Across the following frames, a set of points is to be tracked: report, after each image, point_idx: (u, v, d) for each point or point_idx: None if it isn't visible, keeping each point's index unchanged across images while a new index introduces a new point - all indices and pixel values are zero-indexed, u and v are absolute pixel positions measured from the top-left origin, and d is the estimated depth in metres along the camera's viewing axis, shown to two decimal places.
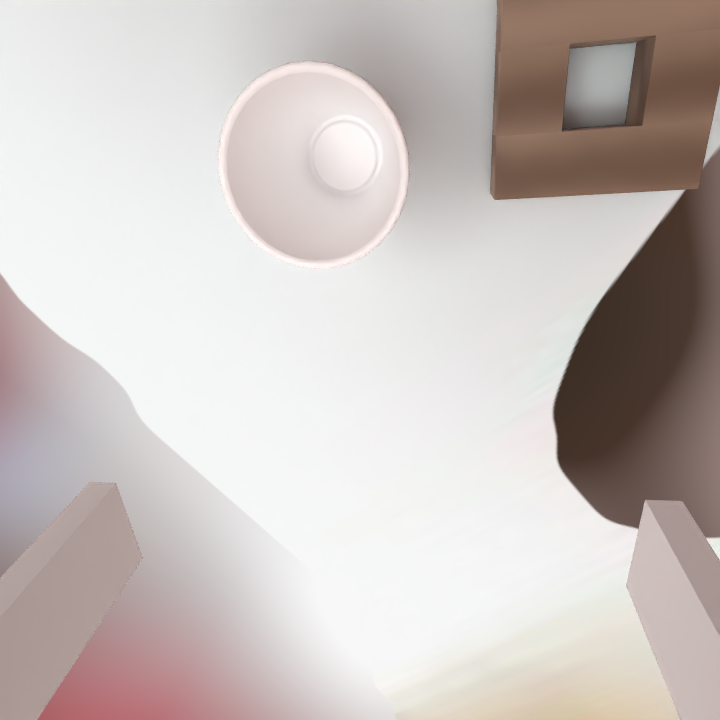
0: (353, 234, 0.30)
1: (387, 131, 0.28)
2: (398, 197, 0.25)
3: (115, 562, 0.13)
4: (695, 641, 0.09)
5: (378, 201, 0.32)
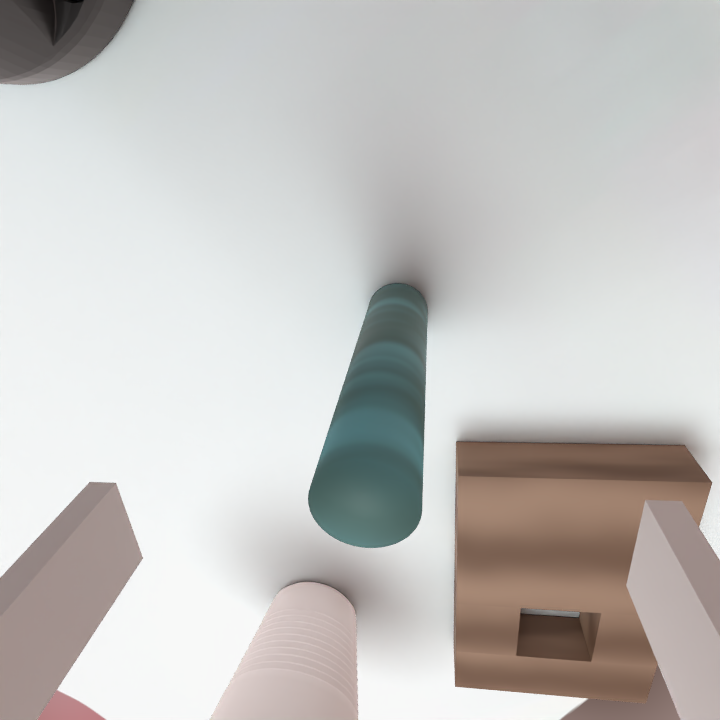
0: None
1: (348, 689, 0.30)
2: None
3: (115, 562, 0.13)
4: (695, 641, 0.09)
5: None
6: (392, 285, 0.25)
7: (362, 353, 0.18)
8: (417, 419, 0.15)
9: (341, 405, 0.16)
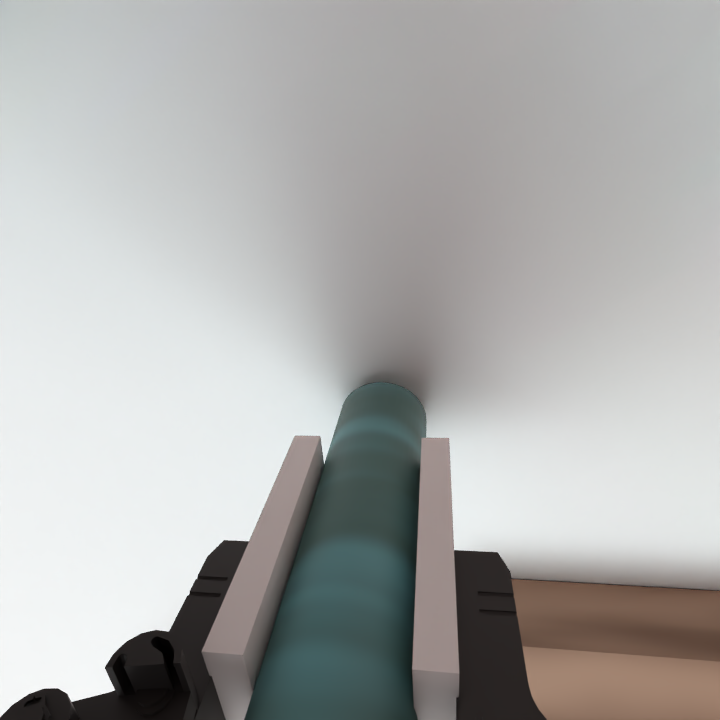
0: None
1: None
2: None
3: None
4: None
5: None
6: (374, 386, 0.17)
7: (309, 563, 0.10)
8: None
9: None
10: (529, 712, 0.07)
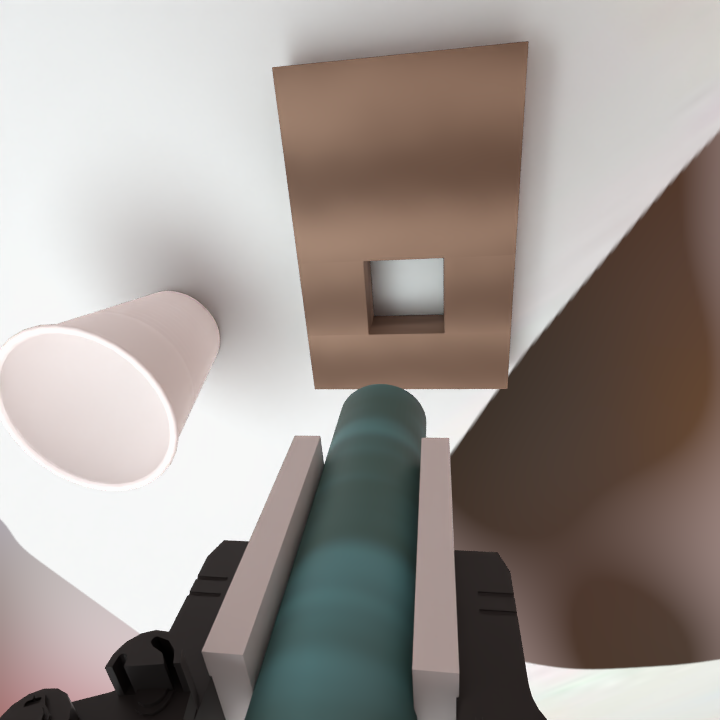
0: (160, 439, 0.30)
1: (181, 348, 0.28)
2: (170, 439, 0.25)
3: None
4: None
5: None
6: (374, 388, 0.17)
7: (309, 567, 0.10)
8: None
9: None
10: (529, 712, 0.07)
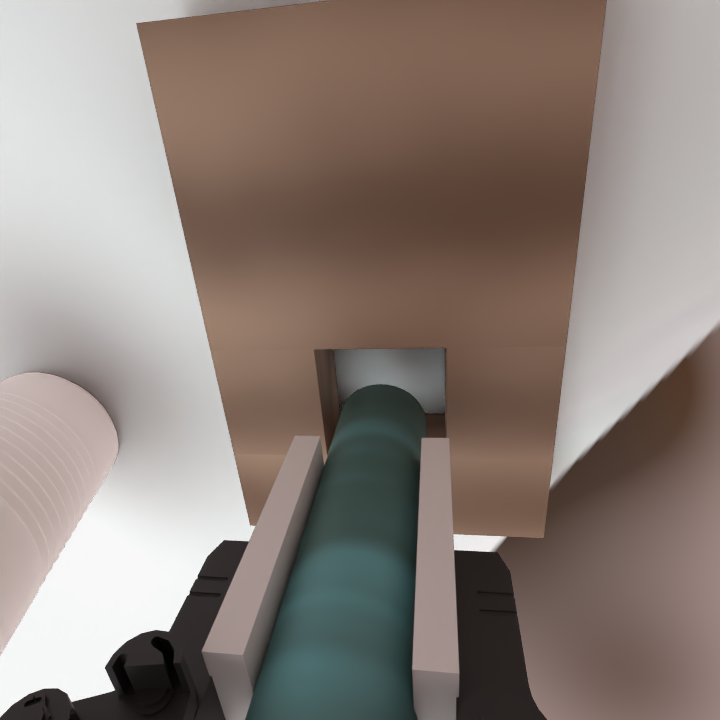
0: None
1: (17, 491, 0.17)
2: None
3: None
4: None
5: None
6: (374, 388, 0.17)
7: (309, 568, 0.10)
8: None
9: None
10: (529, 712, 0.07)
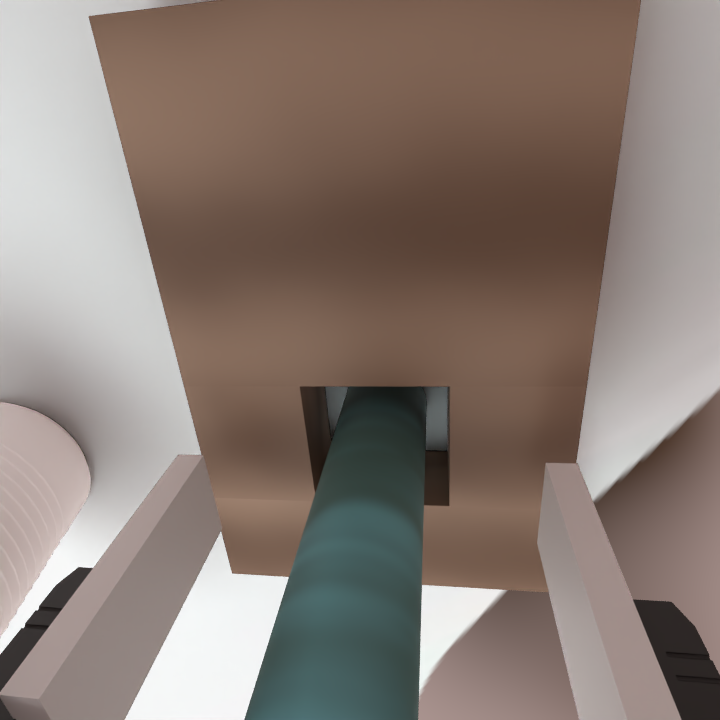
0: None
1: None
2: None
3: (203, 529, 0.14)
4: (568, 577, 0.10)
5: None
6: None
7: (321, 523, 0.11)
8: (405, 705, 0.08)
9: (269, 669, 0.09)
10: None
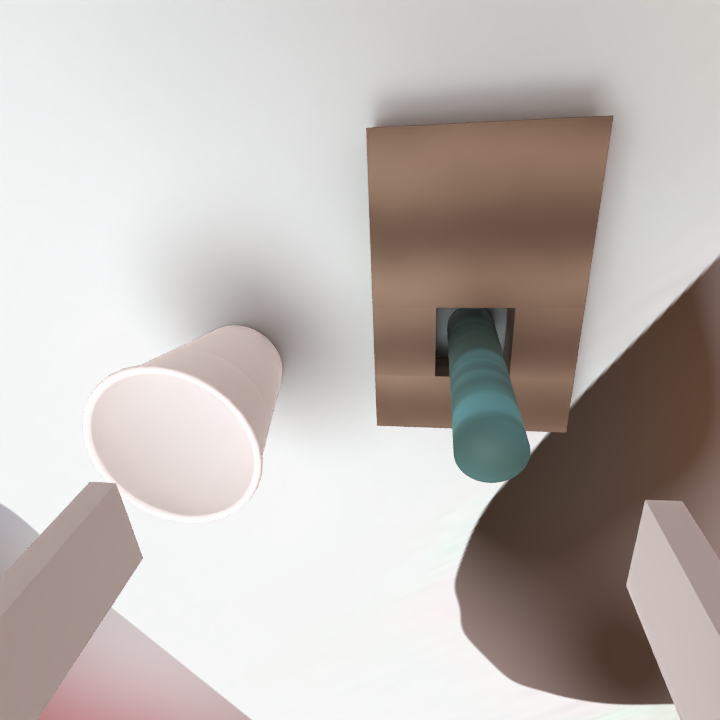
0: (230, 471, 0.31)
1: (259, 386, 0.29)
2: (253, 476, 0.26)
3: (115, 562, 0.13)
4: (695, 641, 0.09)
5: None
6: None
7: (465, 356, 0.26)
8: (515, 401, 0.22)
9: (462, 390, 0.23)
10: None
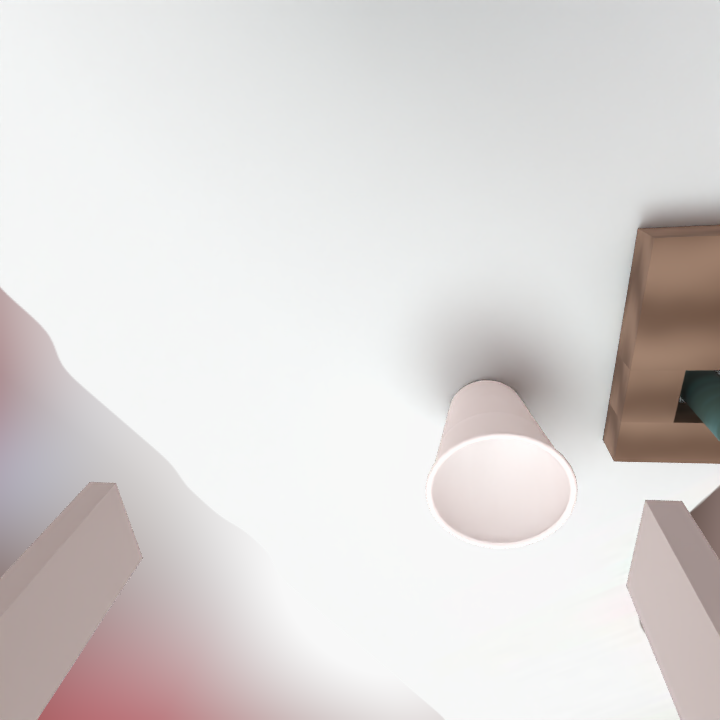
0: (510, 504, 0.38)
1: None
2: (565, 513, 0.34)
3: (115, 562, 0.13)
4: (695, 641, 0.09)
5: (524, 467, 0.40)
6: None
7: None
8: None
9: None
10: None
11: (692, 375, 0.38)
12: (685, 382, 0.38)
